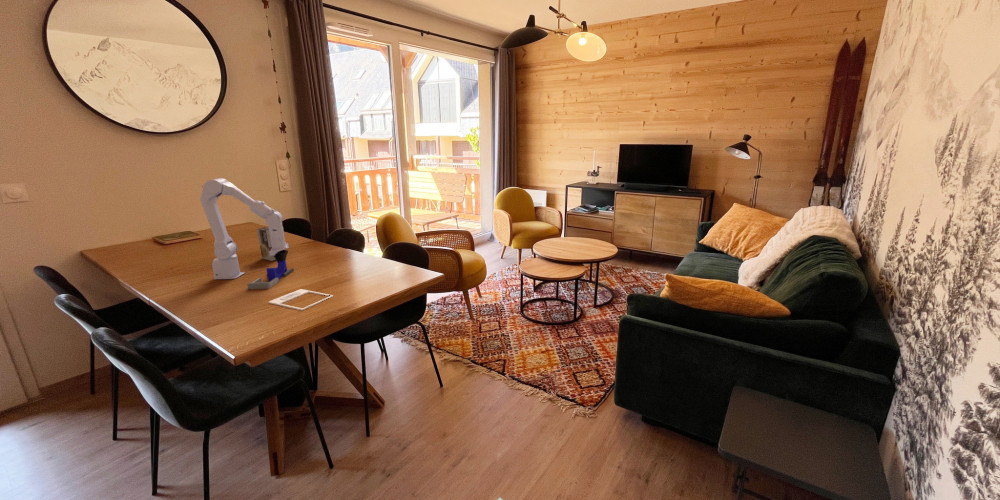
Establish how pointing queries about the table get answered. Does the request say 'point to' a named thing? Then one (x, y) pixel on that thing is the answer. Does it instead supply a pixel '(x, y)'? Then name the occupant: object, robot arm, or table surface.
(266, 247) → the coffee box
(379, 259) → the table surface
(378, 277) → the table surface
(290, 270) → the guide channel
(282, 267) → the cable clip
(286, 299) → the photo frame
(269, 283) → the bracket
